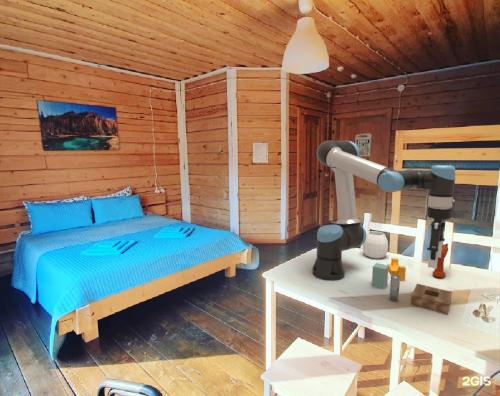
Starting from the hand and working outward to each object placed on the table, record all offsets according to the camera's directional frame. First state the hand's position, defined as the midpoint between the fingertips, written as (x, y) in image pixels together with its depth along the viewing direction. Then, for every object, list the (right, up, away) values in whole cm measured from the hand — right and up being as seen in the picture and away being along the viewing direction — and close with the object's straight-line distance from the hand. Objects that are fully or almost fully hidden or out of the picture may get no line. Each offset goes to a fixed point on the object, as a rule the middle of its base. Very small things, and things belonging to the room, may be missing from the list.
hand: (434, 262), depth 111 cm
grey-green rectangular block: (-13, -14, +18) cm, 26 cm away
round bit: (-13, -16, +5) cm, 21 cm away
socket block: (0, -17, +3) cm, 17 cm away
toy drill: (+23, -12, +30) cm, 40 cm away
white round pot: (0, -9, +53) cm, 54 cm away
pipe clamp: (-1, -13, +28) cm, 31 cm away
